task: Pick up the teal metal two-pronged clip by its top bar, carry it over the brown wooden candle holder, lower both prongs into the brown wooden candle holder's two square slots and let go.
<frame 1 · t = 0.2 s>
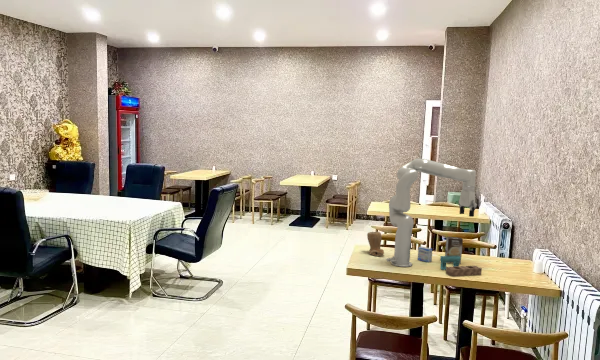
hand: (466, 215, 299), 31 cm above the table, tool pointing down, fingers open, 9 cm apart
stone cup: (374, 254, 313), on the table
brown wooden candle holder: (463, 274, 273), on the table
coffee box: (452, 262, 300), on the table
clip: (449, 269, 283), on the table
medicine box: (424, 261, 300), on the table
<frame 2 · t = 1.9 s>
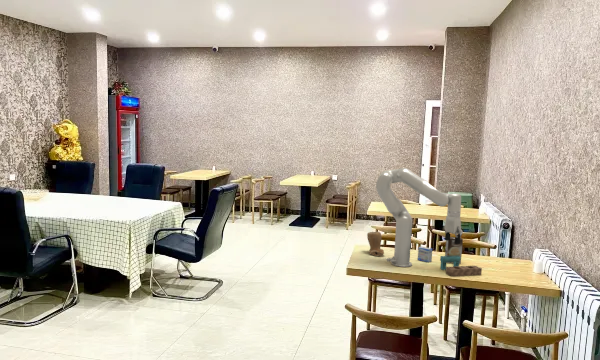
hand: (452, 242, 281), 17 cm above the table, tool pointing down, fingers open, 9 cm apart
nothing on the table moved.
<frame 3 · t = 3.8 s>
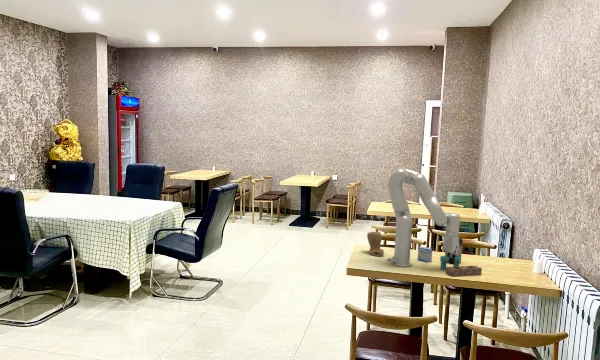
hand: (450, 263, 282), 4 cm above the table, tool pointing down, fingers closed on clip, 3 cm apart
clip: (449, 269, 283), on the table, touching gripper
everything else where it was.
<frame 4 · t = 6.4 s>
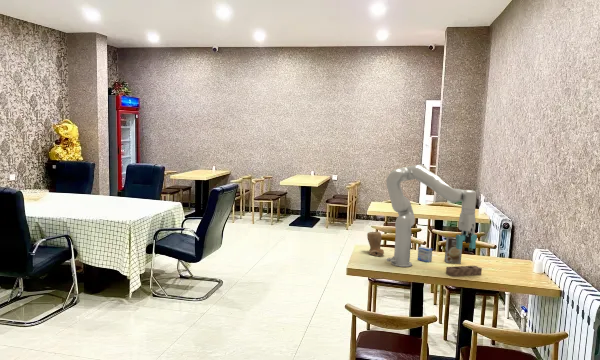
hand: (466, 242, 271), 19 cm above the table, tool pointing down, fingers closed on clip, 3 cm apart
clip: (465, 248, 272), point 15 cm above the table, touching gripper
everything else where it was.
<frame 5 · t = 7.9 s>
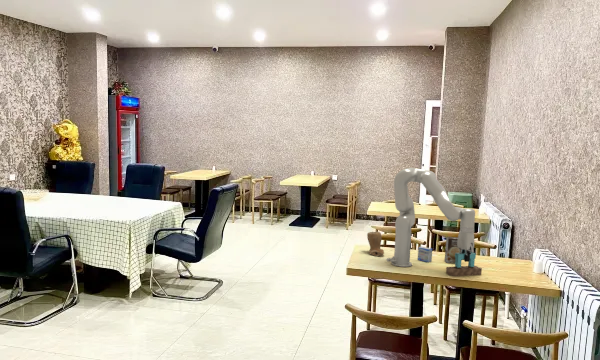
hand: (464, 260, 272), 8 cm above the table, tool pointing down, fingers closed on clip, 3 cm apart
clip: (464, 266, 272), point 5 cm above the table, touching gripper
everything else where it was.
when the fingers open (5 cm above the table, at t = 9.2 s): clip stays where it is, resting in brown wooden candle holder.
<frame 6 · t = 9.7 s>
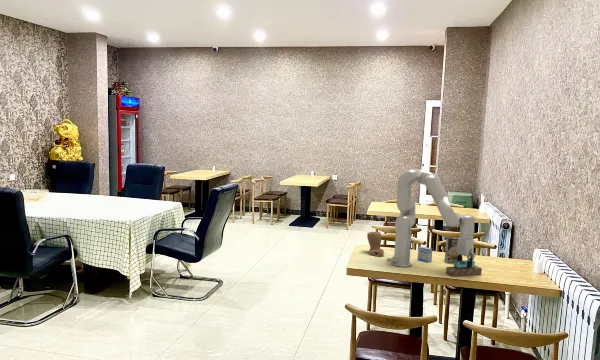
hand: (464, 265, 272), 6 cm above the table, tool pointing down, fingers open, 8 cm apart
clip: (463, 274, 273), resting in brown wooden candle holder
everything else where it was.
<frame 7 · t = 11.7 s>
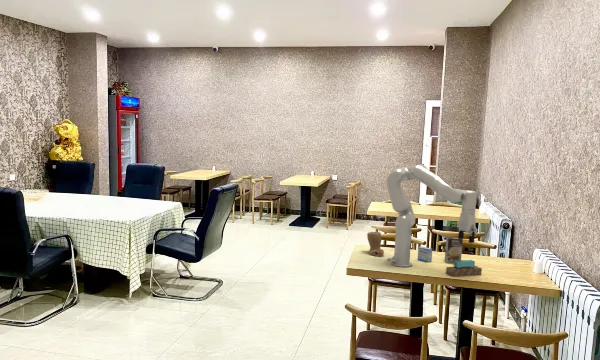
hand: (466, 240, 271), 20 cm above the table, tool pointing down, fingers open, 9 cm apart
nothing on the table moved.
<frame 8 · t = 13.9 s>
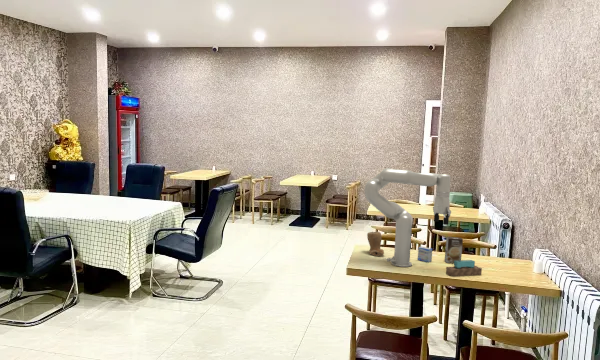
hand: (440, 222, 280), 28 cm above the table, tool pointing down, fingers open, 9 cm apart
nothing on the table moved.
at the end: clip 0.0 cm off-centre on the brown wooden candle holder, point 0.0 cm above the brown wooden candle holder's base; clip tilted 0°; the gripper is holding nothing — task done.
